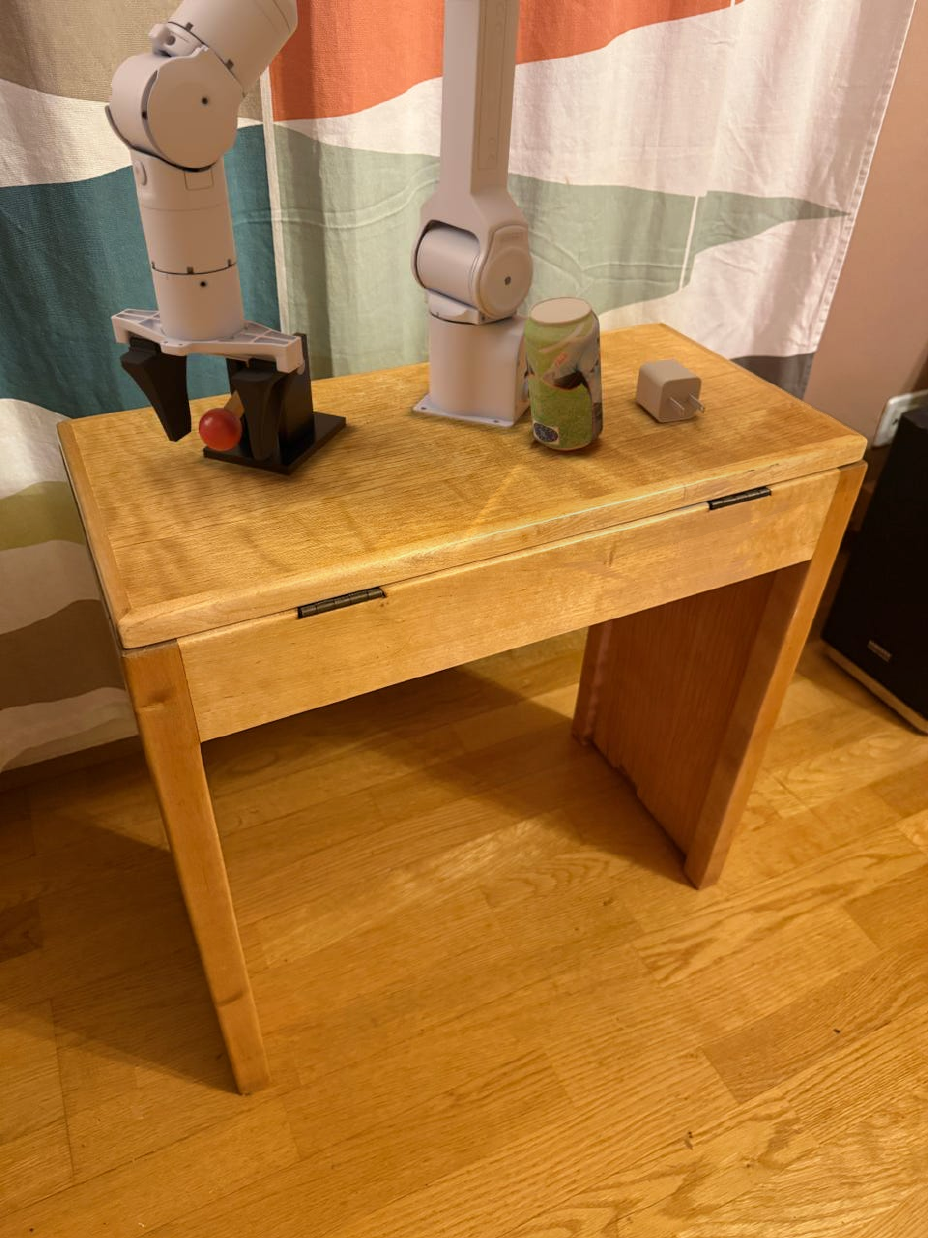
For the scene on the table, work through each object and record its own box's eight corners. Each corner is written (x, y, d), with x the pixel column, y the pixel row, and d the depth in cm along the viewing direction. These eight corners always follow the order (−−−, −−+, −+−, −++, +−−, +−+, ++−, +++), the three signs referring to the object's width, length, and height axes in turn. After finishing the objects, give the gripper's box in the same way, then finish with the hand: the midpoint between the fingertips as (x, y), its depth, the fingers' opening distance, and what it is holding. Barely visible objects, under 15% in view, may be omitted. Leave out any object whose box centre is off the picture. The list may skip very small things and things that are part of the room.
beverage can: (615, 446, 79) (633, 306, 71) (547, 467, 75) (558, 322, 68) (570, 419, 83) (582, 284, 76) (503, 437, 80) (510, 299, 72)
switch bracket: (289, 480, 73) (277, 368, 67) (204, 461, 75) (185, 352, 70) (347, 429, 80) (339, 324, 75) (267, 414, 83) (255, 311, 77)
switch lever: (235, 462, 69) (221, 432, 67) (199, 455, 70) (184, 424, 68) (298, 367, 75) (287, 335, 72) (264, 361, 76) (252, 329, 73)
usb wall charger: (672, 399, 87) (679, 358, 84) (710, 429, 82) (718, 387, 79) (634, 403, 86) (640, 362, 83) (669, 435, 80) (677, 392, 78)
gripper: (66, 264, 61) (110, 449, 69) (255, 293, 57) (278, 486, 65) (133, 238, 66) (167, 413, 74) (310, 263, 62) (325, 445, 70)
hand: (222, 445), depth 70 cm, fingers open, 7 cm apart
